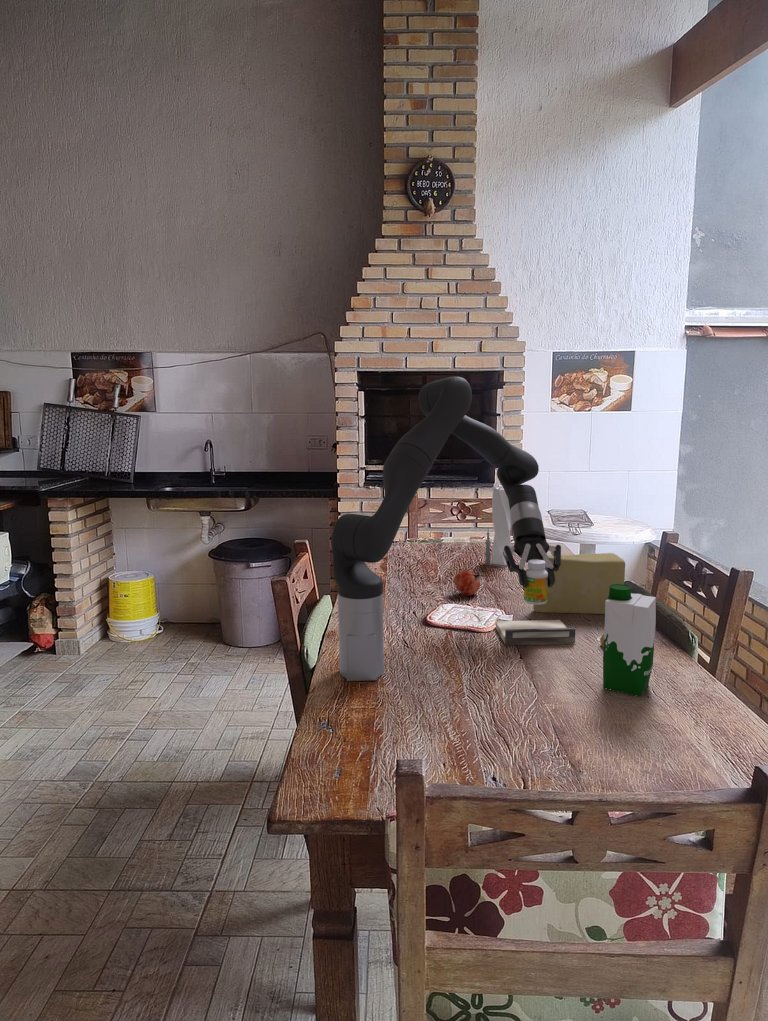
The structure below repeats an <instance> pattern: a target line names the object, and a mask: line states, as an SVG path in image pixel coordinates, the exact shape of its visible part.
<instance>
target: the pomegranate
mask: <svg viewBox="0 0 768 1021" xmlns="http://www.w3.org/2000/svg"><path fill="white" fill-rule="evenodd" d="M479 577H482V575H481V574H479V573H478V574H475V573H474V571H468V570H467V569H466V570H465V569H463V570H461V571H458V573H456V574H455V575H454V578H453V582H454V584H455V588H456V590H454V591H453V593H456V592H457V591H459V592H460V594H461V595H462V596H465V597H470V596H473V595H474V594H477V592H478V591H479V590H480V588H481V581H480V579H479Z"/></svg>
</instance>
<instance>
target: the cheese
mask: <svg viewBox="0 0 768 1021" xmlns="http://www.w3.org/2000/svg"><path fill="white" fill-rule="evenodd" d="M547 555H548V557H549V560H550V562H551V563H552V564H553V559H554V556H552V554H547ZM544 570H545V569H544ZM625 574H626V561H625V560H624V558H622V557H620V556H619V555H617V554H616V553H614V552H605V553H582V554H581V553H580V554H567V555H566V554H565V555H564V554H561V565H560V567H559V569H558V571H554V576H555V583H554V585H553V586H552V587H548V594H547V602H546V603H545V604H541V605H533V604H532V605H533V606H532V607H533V608H532V609H533V611H534V612H535V613H545V614H546V613H551V614H555V613H557V614H582V615H583V614H587V615H589V614H590V615H592V614H593V615H605V601H606V599H607V598H608V595H609V587H610V585H613V584H623V585H625V580H626V578H625V577H626V575H625Z"/></svg>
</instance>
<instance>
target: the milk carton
mask: <svg viewBox="0 0 768 1021" xmlns="http://www.w3.org/2000/svg"><path fill="white" fill-rule="evenodd" d="M656 604H657V597H656V596H650V595H649V596H648V595H643V594H642V593H632V587H631V586H630V585H627V584H624V585H623V584H613V585H610V587H609V595H608V598H607V599H606V601H605V614H604V630H603V632H604V633H603V634H604V647H603V652H602V687H603V688H607V689H606V690H608V689H611V690H610V691H612V690H614V692H617V691H619V692H618V693H621V692H623V694H626V693H628V695H630V694H632V695H631V696H635V695H637V696H636V697H640V696H641V695H643V693H644V692H645V690H646V688H647V687H648V685H649V683H650V678H651V674H652V670H653V666H654V657H655V656H654V655H655V654H654V652H655V639H656V638H655V637H656V625H657V624H656V621H657V620H656V619H657V617H656V614H657V613H656V612H657V610H656V606H657V605H656ZM603 688H602V689H603ZM641 697H642V696H641Z"/></svg>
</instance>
